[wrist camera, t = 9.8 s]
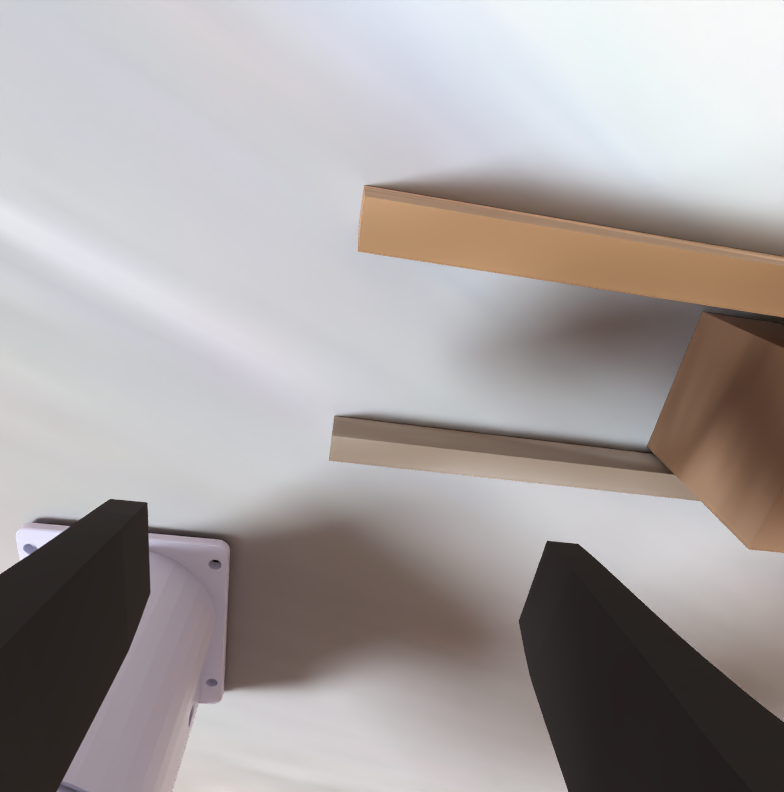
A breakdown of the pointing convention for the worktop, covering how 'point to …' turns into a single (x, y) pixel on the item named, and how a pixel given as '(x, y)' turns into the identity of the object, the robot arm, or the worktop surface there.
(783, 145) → the worktop surface
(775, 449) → the cabinet block
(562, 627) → the robot arm
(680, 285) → the board
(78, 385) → the worktop surface
